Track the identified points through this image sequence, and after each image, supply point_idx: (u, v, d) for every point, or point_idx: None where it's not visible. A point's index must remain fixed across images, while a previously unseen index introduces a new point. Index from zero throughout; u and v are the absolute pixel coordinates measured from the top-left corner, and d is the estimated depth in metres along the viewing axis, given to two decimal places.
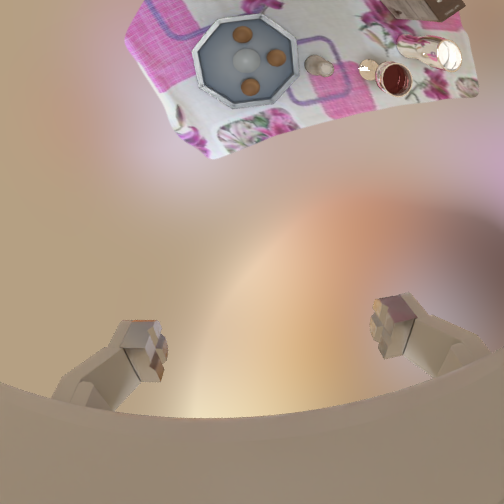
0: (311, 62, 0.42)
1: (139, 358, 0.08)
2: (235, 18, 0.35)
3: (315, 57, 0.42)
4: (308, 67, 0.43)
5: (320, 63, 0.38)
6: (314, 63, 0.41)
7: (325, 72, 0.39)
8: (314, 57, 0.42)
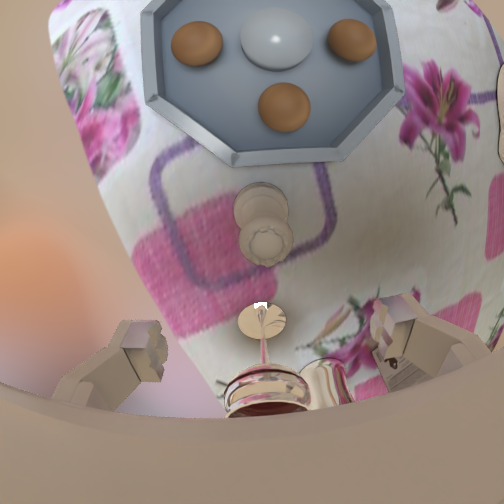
0: (272, 198, 0.20)
1: (139, 358, 0.08)
2: (393, 38, 0.14)
3: (285, 208, 0.21)
4: (255, 191, 0.20)
5: (283, 227, 0.16)
6: (271, 206, 0.19)
7: (255, 243, 0.16)
8: (285, 206, 0.21)
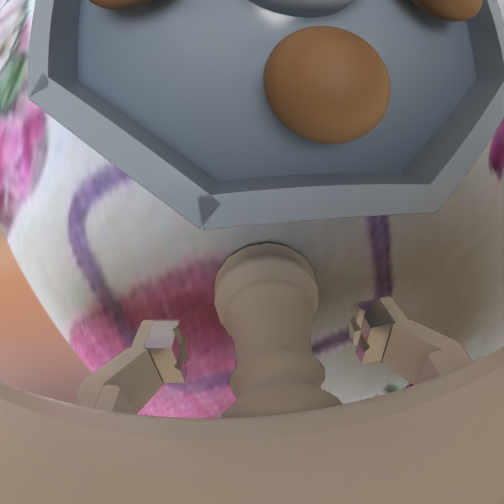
0: (291, 289, 0.09)
1: (164, 359, 0.08)
2: (492, 0, 0.04)
3: (314, 299, 0.10)
4: (256, 269, 0.10)
5: None
6: (291, 315, 0.09)
7: None
8: (314, 294, 0.10)
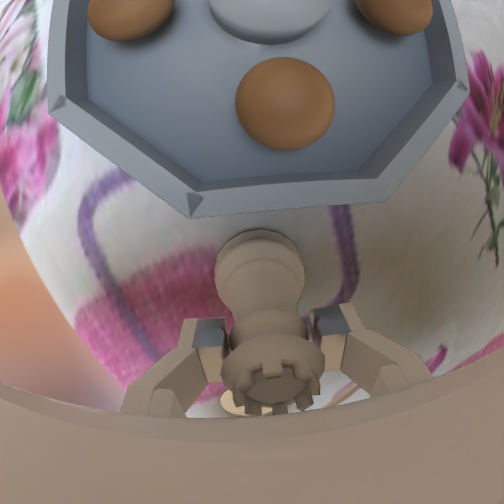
0: (280, 266, 0.11)
1: (213, 358, 0.08)
2: (448, 9, 0.06)
3: (301, 277, 0.12)
4: (251, 250, 0.12)
5: (311, 356, 0.07)
6: (281, 286, 0.10)
7: (253, 387, 0.07)
8: (301, 273, 0.12)
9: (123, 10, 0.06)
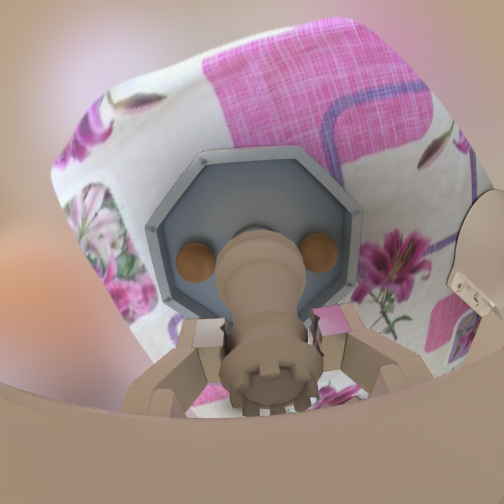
0: (281, 266, 0.11)
1: (213, 357, 0.08)
2: (355, 243, 0.24)
3: (302, 278, 0.12)
4: (252, 250, 0.12)
5: (310, 358, 0.07)
6: (280, 287, 0.10)
7: (250, 388, 0.07)
8: (301, 274, 0.12)
9: (197, 281, 0.24)
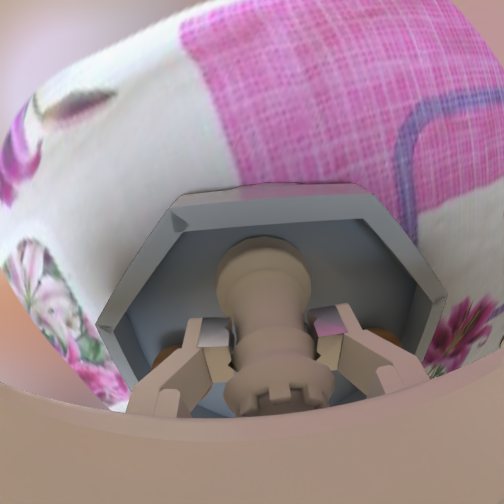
0: (286, 276, 0.11)
1: (218, 357, 0.08)
2: (427, 338, 0.14)
3: (307, 287, 0.12)
4: (255, 259, 0.11)
5: (322, 378, 0.07)
6: (287, 298, 0.10)
7: (258, 410, 0.06)
8: (307, 283, 0.12)
9: None
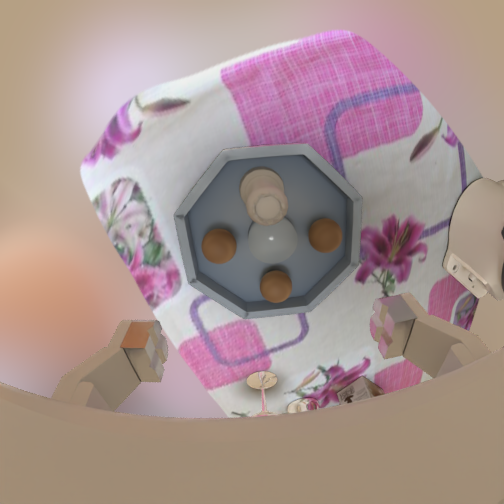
0: (270, 178, 0.25)
1: (139, 358, 0.08)
2: (357, 226, 0.28)
3: (281, 186, 0.26)
4: (257, 172, 0.25)
5: (280, 194, 0.21)
6: (270, 183, 0.24)
7: (259, 206, 0.21)
8: (281, 184, 0.26)
9: (221, 261, 0.27)
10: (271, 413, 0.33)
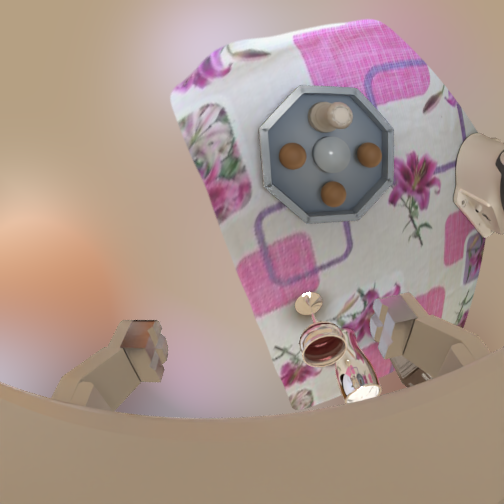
0: None
1: (139, 358, 0.08)
2: (391, 150, 0.34)
3: None
4: (323, 103, 0.31)
5: (348, 108, 0.27)
6: None
7: (335, 113, 0.27)
8: None
9: (296, 165, 0.33)
10: None
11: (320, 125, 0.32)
